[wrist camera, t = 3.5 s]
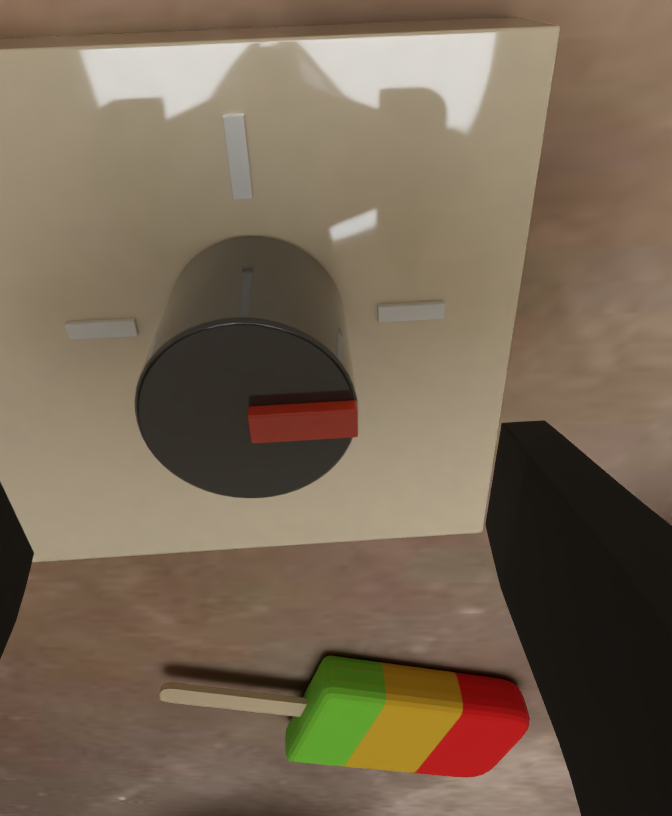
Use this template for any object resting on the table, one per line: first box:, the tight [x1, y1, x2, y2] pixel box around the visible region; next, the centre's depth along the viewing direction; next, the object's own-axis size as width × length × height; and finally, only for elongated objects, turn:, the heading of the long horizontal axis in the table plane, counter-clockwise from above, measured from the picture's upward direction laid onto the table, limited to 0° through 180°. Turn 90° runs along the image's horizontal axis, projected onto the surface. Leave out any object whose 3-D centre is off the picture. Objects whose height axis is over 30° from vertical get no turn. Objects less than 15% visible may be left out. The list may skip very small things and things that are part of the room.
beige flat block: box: [0, 17, 560, 562], centre depth 14 cm, size 14×12×3 cm
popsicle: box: [160, 656, 530, 777], centre depth 25 cm, size 6×15×2 cm, turn 72°
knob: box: [134, 237, 358, 498], centre depth 11 cm, size 4×4×4 cm
